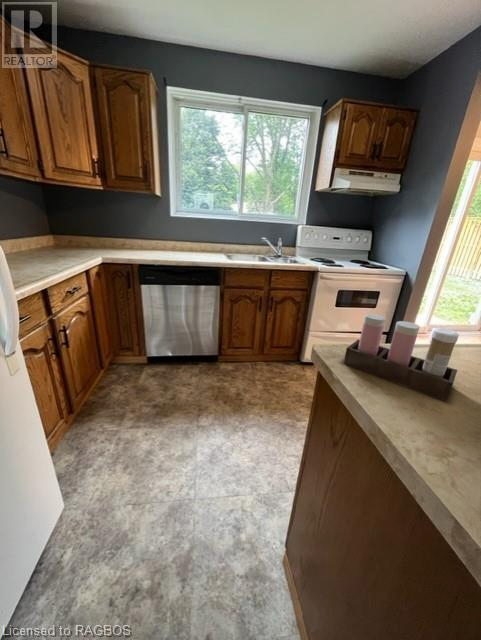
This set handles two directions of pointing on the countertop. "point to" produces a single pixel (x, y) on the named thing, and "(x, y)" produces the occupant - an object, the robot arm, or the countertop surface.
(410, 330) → the pink bottle
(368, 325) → the pink bottle
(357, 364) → the spice rack
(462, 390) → the countertop surface
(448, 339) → the sprinkles bottle
